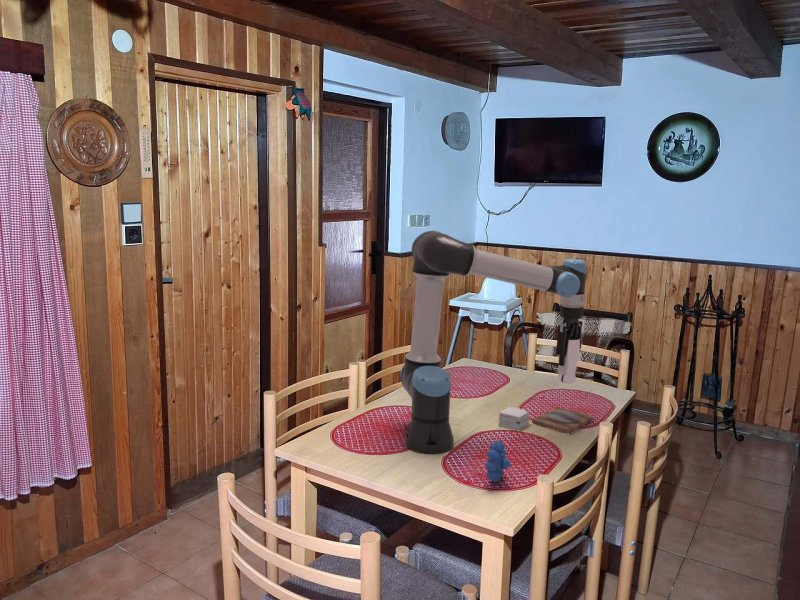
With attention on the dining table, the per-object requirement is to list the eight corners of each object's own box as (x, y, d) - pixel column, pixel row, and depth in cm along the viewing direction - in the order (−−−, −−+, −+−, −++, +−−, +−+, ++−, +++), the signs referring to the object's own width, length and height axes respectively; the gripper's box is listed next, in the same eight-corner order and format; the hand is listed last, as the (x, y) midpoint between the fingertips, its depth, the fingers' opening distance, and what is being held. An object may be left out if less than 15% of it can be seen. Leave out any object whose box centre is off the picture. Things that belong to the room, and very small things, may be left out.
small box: (498, 426, 222) (498, 411, 221) (508, 419, 228) (509, 405, 227) (519, 431, 218) (520, 417, 217) (529, 425, 224) (530, 410, 223)
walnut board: (569, 434, 216) (570, 428, 216) (532, 423, 225) (532, 417, 225) (593, 420, 230) (593, 414, 229) (556, 410, 238) (557, 405, 238)
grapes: (503, 494, 173) (505, 451, 171) (478, 488, 176) (481, 445, 174) (516, 477, 183) (519, 436, 181) (493, 472, 186) (495, 431, 184)
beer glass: (575, 378, 228) (578, 336, 225) (578, 384, 221) (582, 340, 218) (554, 377, 228) (557, 335, 226) (557, 383, 222) (560, 339, 219)
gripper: (568, 311, 210) (563, 380, 214) (595, 303, 225) (589, 368, 229) (547, 307, 215) (543, 375, 219) (574, 300, 230) (569, 364, 234)
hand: (567, 372), depth 224 cm, fingers closed on beer glass, 7 cm apart
